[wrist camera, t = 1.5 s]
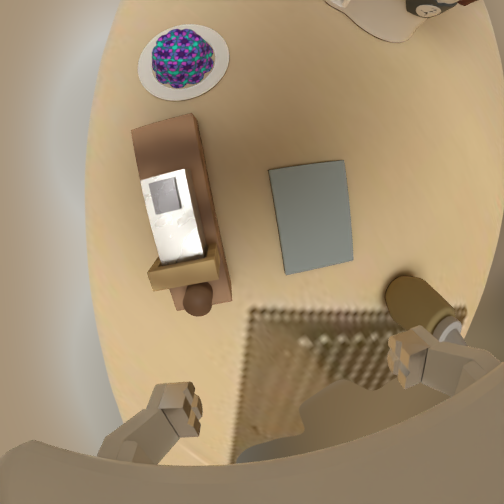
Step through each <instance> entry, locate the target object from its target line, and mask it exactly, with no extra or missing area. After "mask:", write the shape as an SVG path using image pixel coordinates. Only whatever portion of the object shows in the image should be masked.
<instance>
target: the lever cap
mask: <svg viewBox="0 0 504 504" xmlns="http://www.w3.org/2000/svg"><path fill="white" fill-rule="evenodd" d="M140 182H141V187H142V191H143V196H144V200H145V204H146V208H147V213H148V217H149V221H150V224H151V228H152V232H153V236H154V240H155V243H156V247H157V250H158V254H159V257H160V261H161V264H162V266H167V265H172V264H177V263H182V262H187V261H192V260H197V259H202V258H206V256H207V252H208V248H207V243H206V239H205V235H204V231H203V226H202V222H201V217H200V213H199V208H198V204H197V199H196V195H195V190H194V185H193V180H192V175H191V171H190V169H182V170H178V171H174V172H170V173H166V174H162V175H159V176H155V177H151V178H148V179H144V180H141V181H140Z"/></svg>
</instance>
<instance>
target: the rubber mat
mask: <svg viewBox="0 0 504 504" xmlns="http://www.w3.org/2000/svg"><path fill="white" fill-rule="evenodd" d="M268 171H269V177H270V183H271V188H272V194H273V200H274V206H275V212H276V218H277V225H278V231H279V237H280V244H281V250H282V257H283V264H284V270H285V274H286V275H290V274H294V273H299V272H304V271H308V270H313V269H317V268H322V267H326V266H331V265H335V264H340V263H344V262H348V261H353V242H352V228H351V216H350V205H349V195H348V187H347V178H346V171H345V163H344V160H340V161H331V162H322V163H314V164H307V165H300V166H293V167H286V168H279V169H273V170H268Z"/></svg>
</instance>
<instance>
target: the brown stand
mask: <svg viewBox="0 0 504 504" xmlns="http://www.w3.org/2000/svg"><path fill="white" fill-rule="evenodd" d="M131 133H132V139H133V145H134V151H135V156H136V161H137V166H138V171H139V176H140V181H141V180H144V179H148V178H151V177H155V176H159V175H162V174H166V173H170V172H174V171H178V170H182V169H190V171H191V175H192V180H193V185H194V190H195V195H196V199H197V204H198V208H199V213H200V217H201V222H202V226H203V231H204V235H205V239H206V243H207V248H208V252H207V256H206V258H202V259H197V260H192V261H187V262H182V263H177V264H172V265H167V266H162V264H161V261H160V257H158V258H157V260H156V261H155V262H154V264H153V265H152V267H151V268H150V270H149V271H148V272H147V274H148V277H149V280H150V283H151V286H152V289H153V291H159V290H164V289H170V292H171V295H172V298H173V301H174V304H175V307H176V310H177V311H179V310H186V311H187V312H188V313H189V314H191V315H193V316H204V315H206V314H207V313H208V312H209V311H210V310H211V307H212V305H213V304H219V303H224V302H230V301H232V291H231V281H230V277H229V272H228V268H227V263H226V259H225V255H224V250H223V246H222V241H221V236H220V232H219V227H218V223H217V218H216V213H215V209H214V204H213V199H212V194H211V189H210V184H209V179H208V174H207V169H206V164H205V159H204V154H203V149H202V144H201V138H200V133H199V128H198V122H197V120H196V118H195V117H194V115H193V114H192V113H190V114H186V115H182V116H178V117H174V118H170V119H166V120H163V121H159V122H156V123H152V124H149V125H146V126H142V127H139V128H136V129H133V130H131Z"/></svg>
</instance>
